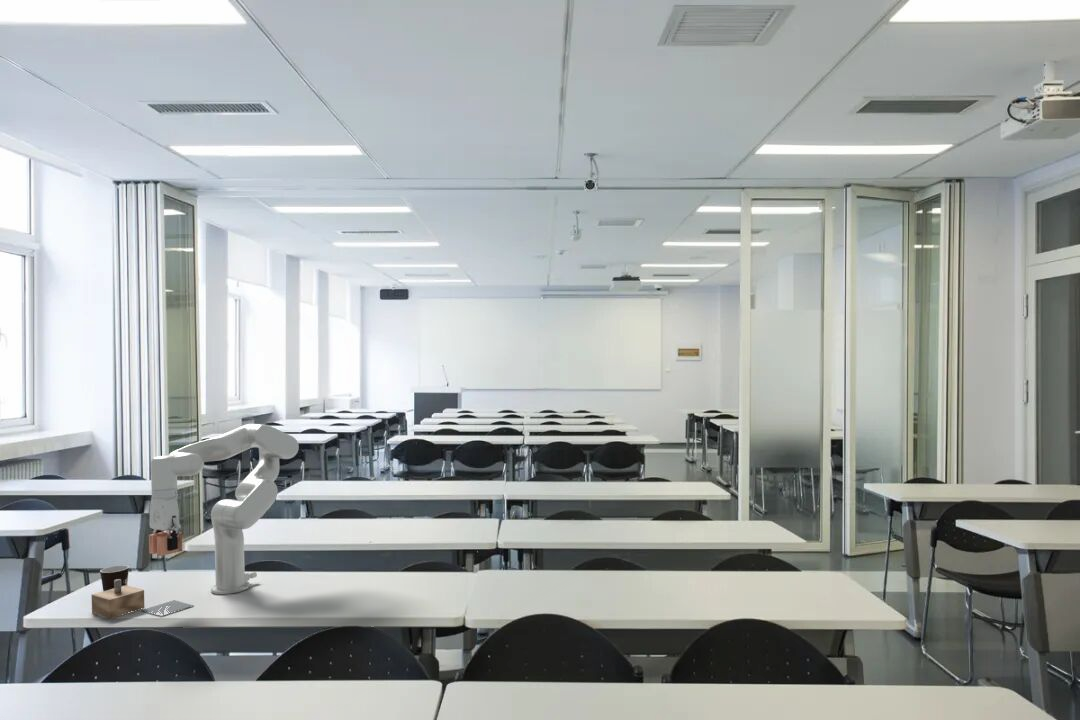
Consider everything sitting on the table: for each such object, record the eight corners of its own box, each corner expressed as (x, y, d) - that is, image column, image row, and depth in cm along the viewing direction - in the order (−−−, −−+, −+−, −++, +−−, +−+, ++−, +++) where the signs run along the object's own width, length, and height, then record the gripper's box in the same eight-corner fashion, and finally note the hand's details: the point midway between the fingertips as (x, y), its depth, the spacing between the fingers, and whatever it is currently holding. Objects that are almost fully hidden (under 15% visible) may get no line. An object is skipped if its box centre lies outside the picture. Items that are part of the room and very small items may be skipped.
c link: (169, 548, 245) (169, 530, 245) (182, 551, 241) (181, 532, 241) (149, 553, 239) (148, 534, 239) (161, 556, 235) (161, 537, 235)
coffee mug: (116, 602, 248) (115, 573, 248) (94, 601, 250) (93, 572, 250) (141, 591, 259) (141, 563, 259) (120, 590, 261) (120, 562, 261)
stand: (126, 603, 247) (125, 573, 247) (144, 608, 241) (143, 577, 241) (91, 613, 238) (91, 582, 238) (109, 618, 232) (109, 587, 232)
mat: (174, 601, 248) (174, 600, 248) (193, 606, 242) (193, 605, 242) (141, 611, 239) (141, 609, 239) (160, 616, 233) (160, 615, 233)
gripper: (138, 493, 242) (139, 547, 242) (168, 498, 232) (170, 554, 232) (160, 490, 248) (161, 542, 248) (191, 494, 239) (192, 549, 239)
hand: (165, 548), depth 240 cm, fingers closed on c link, 7 cm apart
